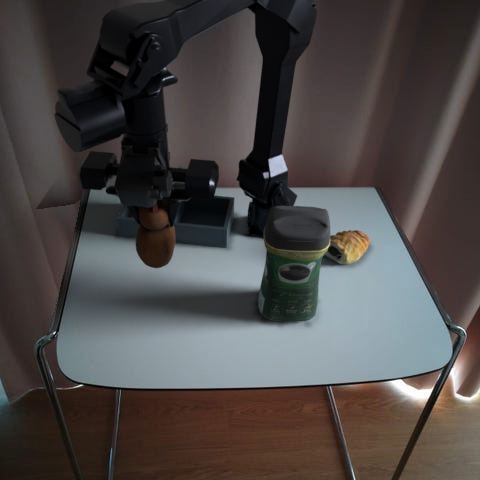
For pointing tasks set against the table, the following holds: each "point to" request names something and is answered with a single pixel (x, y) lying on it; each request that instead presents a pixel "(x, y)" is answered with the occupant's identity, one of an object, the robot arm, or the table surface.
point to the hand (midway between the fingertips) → (155, 224)
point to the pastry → (347, 246)
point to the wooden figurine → (155, 235)
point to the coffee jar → (293, 262)
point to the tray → (192, 221)
